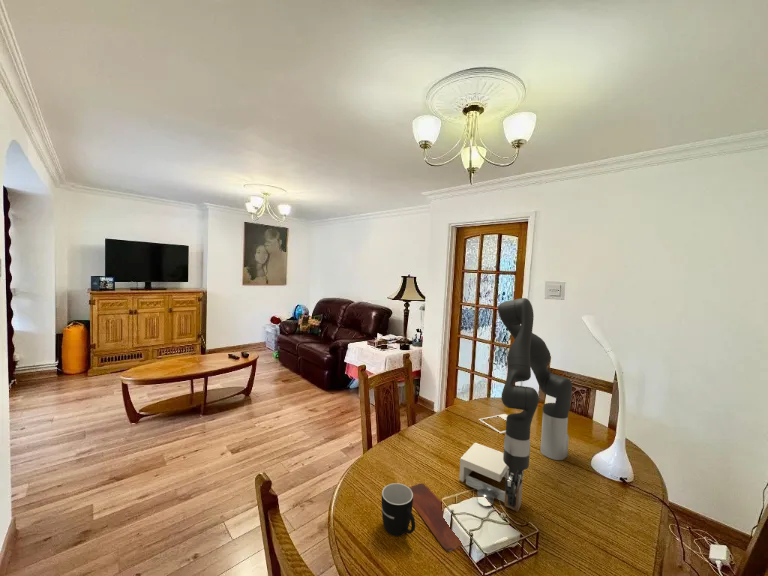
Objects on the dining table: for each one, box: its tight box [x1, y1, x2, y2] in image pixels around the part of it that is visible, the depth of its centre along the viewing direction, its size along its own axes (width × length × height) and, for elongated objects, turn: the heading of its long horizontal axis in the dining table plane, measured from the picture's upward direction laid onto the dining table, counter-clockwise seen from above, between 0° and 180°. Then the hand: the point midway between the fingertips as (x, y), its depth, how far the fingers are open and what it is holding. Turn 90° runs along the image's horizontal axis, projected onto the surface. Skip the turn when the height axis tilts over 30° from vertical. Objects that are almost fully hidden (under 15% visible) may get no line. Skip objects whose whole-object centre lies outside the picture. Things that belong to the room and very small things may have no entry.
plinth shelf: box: [458, 442, 509, 483], centre depth 114 cm, size 14×14×8 cm
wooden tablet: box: [408, 483, 464, 553], centre depth 96 cm, size 27×10×2 cm, turn 24°
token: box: [476, 489, 495, 505], centre depth 102 cm, size 5×5×2 cm
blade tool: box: [465, 474, 524, 512], centre depth 104 cm, size 18×4×8 cm, turn 52°
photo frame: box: [478, 413, 509, 435], centre depth 158 cm, size 15×1×18 cm
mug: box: [381, 482, 416, 537], centre depth 89 cm, size 12×9×10 cm
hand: (513, 501), depth 100 cm, fingers closed on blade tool, 4 cm apart
